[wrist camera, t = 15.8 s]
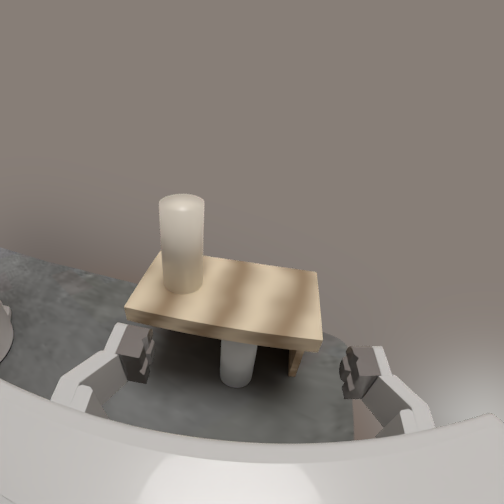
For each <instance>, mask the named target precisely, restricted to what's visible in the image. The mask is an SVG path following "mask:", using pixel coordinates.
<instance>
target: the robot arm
mask: <svg viewBox="0 0 504 504" xmlns="http://www.w3.org/2000/svg"><path fill="white" fill-rule="evenodd" d="M11 314H12V312H11V310H10V308H9V307H8V306H4V305H2V303H1V301H0V361H1V360H2V359H3V358H4V357H5V355H6V354H7V352H8V351H9V349H10V346H11V344H12V340H13V327H12V325H11V321H10V320H11ZM152 337H153V332H152V329H149V328H143V327H138V326H133V325H128V324H123V323H117V324H116V325H115V326H114V329H113V331H112V333H111V335H110V337H109V339H108V342H107V344H106V346H105V348H104V351H99V352H97V353H96V354H94V355H93V356H91V357H90V358H89V359H87V360H86V361H84V362H83V363H81V364H80V365H78V366H77V367H75V368H74V369H72V370H71V371H69V372H68V373H66V374H65V375H63V376H62V377H61V378H60V380H59V382H58V384H57V387H56V389H55V391H54V393H53V396H52V398H51V400H48V399H45V398H43V397H40V396H38V395H35V394H33V393H31V392H28V391H26V390H24V389H22V388H19V387H17V386H15V385H13V384H11V383H9V382H6V381H4V380H2V379H0V504H504V422H503V421H502V420H500V419H499V418H498V417H497V416H495V415H494V414H492V413H487V414H484V415H481V416H477V417H474V418H471V419H467V420H464V421H460V422H457V423H453V424H449V425H445V426H440V427H436V428H435V425H434V422H433V419H432V416H431V413H430V409H429V406H428V405H427V404H426V403H425V402H424V401H423V400H422V399H420V397H418V396H417V395H416V394H415V393H414V392H413V391H412V390H411V389H410V388H409V387H408V386H406V385H405V384H404V383H403V382H402V381H401V380H400V379H399V378H398V377H396V375H392V373H391V370H390V367H389V364H388V361H387V358H386V355H385V352H384V350H383V348H382V346H350V347H348V348H347V350H346V355H347V356H345V357H344V358H342V360H341V362H340V367H339V375H340V379H341V380H342V381H343V382H344V384H343V386H342V391H343V396H344V399H362V401H363V402H364V404H365V405H366V406H367V407H368V409H369V410H370V411H371V412H372V414H373V415H374V416H375V417H376V419H377V420H378V421H379V422H380V423H381V425H382V426H383V427H384V428H383V429H382V430H381V431H380V432H379V433H378V434H377V435H376V438H374V439H366V440H356V441H345V442H330V443H305V444H276V443H251V442H236V441H224V440H215V439H206V438H198V437H191V436H184V435H178V434H172V433H166V432H161V431H156V430H151V429H146V428H141V427H137V426H132V425H128V424H124V423H120V422H116V421H113V420H109V419H108V416H107V414H106V413H105V411H104V409H103V408H102V405H103V404H104V403H105V402H106V401H107V400H108V399H109V398H111V397H112V396H113V395H114V394H115V393H116V392H117V391H118V390H119V389H120V388H121V387H122V386H124V385H125V384H126V383H127V382H128V381H133V382H138V383H144V384H147V381H148V377H149V374H150V368H149V365H151V364H152V363H153V360H154V356H155V342H154V341H153V340H152ZM127 380H128V381H127Z"/></svg>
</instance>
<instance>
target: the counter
mask: <svg viewBox="0 0 504 504" xmlns="http://www.w3.org/2000/svg"><path fill="white" fill-rule="evenodd" d="M124 309H125V313H126V317H127V320H129V321H133V322H138V323H142V324H146V325H150V326H155V327H159V328H164V329H169V330H174V331H178V332H183V333H188V334H193V335H199V336H204V337H210V338H215V339H221V340H227V341H233V342H239V343H246V344H252V345H259V346H266V347H274V348H282V349H289V369H288V376H293V377H295V375H296V372H297V370H298V367H299V364H300V362H301V359H302V356H303V353H304V351H307V352H317V353H318V351H319V349H320V346H321V344H322V341H323V336H322V324H321V312H320V303H319V291H318V283H317V272H312V271H305V270H297V269H290V268H284V267H277V266H270V265H263V264H256V263H249V262H243V261H236V260H229V259H222V258H215V257H209V256H203V284H202V286H201V287H200V289H198V290H197V291H195V292H193V293H190V294H176V293H173V292H170V291H169V290H168V289H166V287H165V285H164V279H163V267H162V253H161V251H160V252H159V254H158V255H157V257H156V258H155V260H154V261H153V263H152V264H151V266H150V267H149V269H148V270H147V272H146V273H145V275H144V276H143V278H142V279H141V281H140V283H139V284H138V286H137V287H136V289H135V290H134V292H133V293H132V295H131V297H130V298H129V300H128V301H127V303H126V305H125V306H124Z"/></svg>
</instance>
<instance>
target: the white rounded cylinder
mask: <svg viewBox="0 0 504 504" xmlns="http://www.w3.org/2000/svg"><path fill="white" fill-rule="evenodd" d="M159 218H160V237H161V253H162V267H163V279H164V285H165V287H166V289H168V290H169V291H170V292H173V293H176V294H190V293H193V292H195V291H197V290H198V289H200V287H201V286H202V284H203V232H204V200H203V199H202V198H200V197H198V196H195V195H191V194H174V195H169V196H167V197H164V198H162V199H161V200H160V201H159Z"/></svg>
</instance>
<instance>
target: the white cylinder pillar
mask: <svg viewBox="0 0 504 504" xmlns="http://www.w3.org/2000/svg"><path fill="white" fill-rule="evenodd" d="M257 346H258V345H252V344H246V343H239V342H233V341H227V340H221V357H220V378H221V380H222V382H223V383H224V384H226V385H227V386H229V387H233V388H241V387H244V386H246V385H247V384H248V383H249V382H250V381H251V378H252V373H253V368H254V362H255V357H256V352H257Z"/></svg>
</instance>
